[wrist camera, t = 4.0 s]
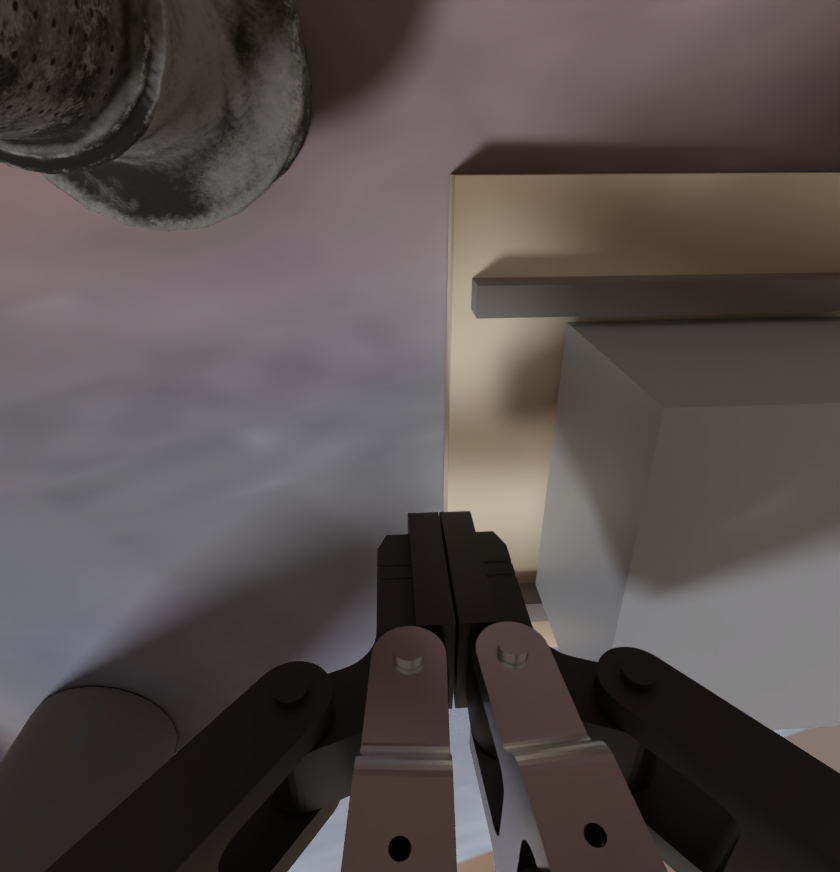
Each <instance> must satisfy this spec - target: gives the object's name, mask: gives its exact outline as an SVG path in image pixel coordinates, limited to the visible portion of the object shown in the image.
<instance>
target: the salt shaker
mask: <svg viewBox="0 0 840 872" xmlns="http://www.w3.org/2000/svg"><path fill="white" fill-rule="evenodd" d="M311 89H312V86H311V80H310V73H309V67H308V61H307V55H306V51H305V48H304V46H303V41H302V35H301V29H300V23H299V17H298V12H297V10H296V7H295V5H294V2H293V0H0V162H1V163H3V164H5V165H8V166H10V167H12V168H18V169H24V170H29V171H35V172H41V173H42V174H43V176H44V177H45V178H46V179H47V180H48V181H49V182H51V183H52V184H53V185H55V186H56V187H58V188H59V189H61V190H62V191H63V192H65V193H66V194H68V195H69V196H71V197H72V198H73V199H75V200H76V201H78V202H79V203H81V204H82V205H84V206H85V207H86V208H88V209H90V210H92V211H95V212H97V213H100V214H102V215H104V216H107V217H109V218H112V219H114V220H116V221H119V222H121V223H124V224H126V225H129V226H135V227H141V228H148V229H154V230H161V231H167V232H170V231H178V230H187V229H196V228H204V227H208V226H210V225H213V224H215V223H217V222H220V221H222V220H224V219H227V218H229V217H231V216H234V215H236V214H238V213H240V212H242V211H243V210H244V209H245V208H247V207H248V206H249V205H250V204H251V203H252V202H254V201H255V200H256V199H257V198H258V197H259V196H261V195H262V194H263V193H264V192H265V191H266V190H268V189H269V188H270V186H271V185H272V183H273V182H274V181H276V180H277V179H278V178H279V177H280V176H281V175H283V174H284V173H285V172H286V170H287V169H288V167H289V166H290V164H291V162H292V161H293V159H294V158H295V156H296V155H297V153H298V152H299V150H300V148H301V145H302V142H303V139H304V136H305V132H306V129H307V126H308V123H309V120H310V105H311Z"/></svg>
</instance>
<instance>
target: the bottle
mask: <svg viewBox="0 0 840 872" xmlns="http://www.w3.org/2000/svg"><path fill="white" fill-rule="evenodd" d="M176 743H177V733H176V730H175V727H174V725H173V723H172V721H171V720H170V718H169V717H168V716H167V715H166V714H165V713H164V712H163V711H162V710H161V709H160V708H159V707H157V706H156V705H155V704H153V703H151V702H150V701H148V700H146V699H144V698H142V697H140V696H137V695H135V694H132V693H130V692H126V691H122V690H118V689H112V688H104V687H81V688H74V689H69V690H66V691H63V692H60V693H57V694H55V695H52V696H51V697H49V698H47V699H46V700H45V701H43V702H42V703H41V704H40V705H39V706H38V707H37V708H36V710H35V711H34V712H33V713H32V715H31V716H30V718H29V719H28V721H27V722H26V724H25V725H24V727H23V728H22V730H21V731H20V733H19V735H18V736H17V738H16V739H15V741H14V742H13V744H12V745H11V747H10V749H9V750H8V752H7V753H6V755H5V756H4V758H3V759H2V761H1V763H0V872H44V871H45V870H47V869H48V868H49V867H50V866H51V865H52V864H53V863H54V862H55V861H57V860H58V859H59V858H60V857H61V856H62V855H63V854H64V853H66V852H67V851H68V850H69V849H70V848H71V847H72V846H73V845H74V844H76V843H77V842H78V841H79V840H80V839H81V838H82V837H83V836H85V835H86V834H87V833H88V832H89V831H90V830H91V829H92V828H94V827H95V826H96V825H97V824H98V823H99V822H100V821H101V820H102V819H104V818H105V817H106V816H107V815H108V814H109V813H110V812H111V811H113V810H114V809H115V808H116V807H117V806H118V805H119V804H120V803H121V802H123V801H124V800H125V799H126V798H127V797H128V796H129V795H130V794H132V793H133V792H134V791H135V790H136V789H137V788H138V787H139V786H140V785H142V784H143V783H144V782H145V781H146V780H147V779H148V778H149V777H151V776H152V775H153V774H154V773H155V772H156V771H157V770H158V769H160V768H161V767H162V766H163V765H164V764H165V763H166V762H167V761H168V760H170V759H171V758H172V757H173V755H174V752H175V749H176Z"/></svg>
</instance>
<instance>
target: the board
mask: <svg viewBox="0 0 840 872" xmlns="http://www.w3.org/2000/svg"><path fill="white" fill-rule="evenodd" d="M837 316H840V172H755V173H586V174H450V182H449V236H448V289H447V343H446V397H445V450H444V504H443V512H455V511H470V512H471V515H472V519H473V523H474V527H475V531H476V532H484V531H493V532H494V533H495V534H496V535H497V536H498V537H499V538H500V539H501V540H502V541H503V542H504V543H505V544H506V546H507V549H508V552H509V555H510V558H511V564H513V568H514V571H515V576H516V577H517V580H518V583H519V586H520V589H521V592H522V596H523V599H524V602H525V605H526V608H527V611H528V614H529V617H530V620H531V624H532V626H533V629H534V630H536V631H537V632H538V633H539V634H541V635H542V636H543V638H544V639H545V640H546V642H547V644H548V645H549V646H550V647H558V645H557V643H556V640H555V637H554V634H553V632H552V629H551V626H550V623H549V621H548V618H547V615H546V612H545V609H544V607H543V604H542V601H541V598H540V596H539V593H538V590H537V587H536V575H537V567H538V558H539V550H540V542H541V533H542V525H543V516H544V508H545V500H546V491H547V483H548V475H549V466H550V458H551V449H552V441H553V433H554V424H555V416H556V407H557V399H558V391H559V382H560V374H561V365H562V357H563V349H564V340H565V332H566V323H567V322H595V321H644V320H692V319H740V318H789V317H837Z"/></svg>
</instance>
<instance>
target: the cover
mask: <svg viewBox="0 0 840 872" xmlns="http://www.w3.org/2000/svg"><path fill="white" fill-rule="evenodd" d="M536 587H537V590H538V593H539V596H540V598H541V601H542V604H543V607H544V609H545V612H546V615H547V618H548V621H549V623H550V626H551V629H552V632H553V634H554V637H555V640H556V643H557V645H558V648H559V651H560V652H561V653H563V654H566V655H569V656H573V657H577V658H582V659H586V660H591V661H595V662H598V661H599V659H600V657H601V656H602V655H603V654H604V653H605V652H606V651H608V650H610V649H613V648H617V647H633V648H638V649H641V650H644V651H647V652H649V653H651V654H653V655H655V656H656V657H658V658H660V659H661V660H663V661H664V662H666V663H667V664H669V665H671V666H672V667H674V668H675V669H677V670H678V671H680V672H681V673H683V674H685V675H686V676H688V677H689V678H691V679H692V680H694V681H696V682H697V683H699V684H700V685H702V686H703V687H705V688H707V689H708V690H710V691H711V692H713V693H714V694H716V695H717V696H719V697H721V698H722V699H724V700H725V701H727V702H728V703H730V704H732V705H733V706H735V707H736V708H738V709H739V710H741V711H743V712H744V713H746V714H747V715H749V716H750V717H752V718H753V719H755V720H757V721H758V722H760V723H761V724H763V725H764V726H766V727H768V728H769V729H771V730H779V729H795V728H811V727H826V726H840V316H837V317H789V318H740V319H692V320H644V321H595V322H567V323H566V332H565V340H564V349H563V357H562V365H561V374H560V382H559V391H558V399H557V407H556V416H555V424H554V433H553V441H552V449H551V458H550V466H549V475H548V483H547V491H546V500H545V508H544V516H543V525H542V533H541V542H540V550H539V558H538V567H537V575H536Z"/></svg>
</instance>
